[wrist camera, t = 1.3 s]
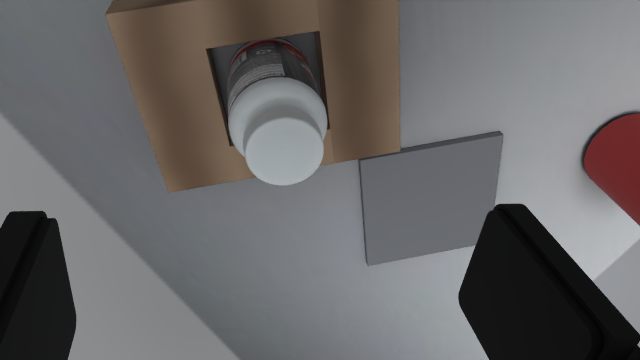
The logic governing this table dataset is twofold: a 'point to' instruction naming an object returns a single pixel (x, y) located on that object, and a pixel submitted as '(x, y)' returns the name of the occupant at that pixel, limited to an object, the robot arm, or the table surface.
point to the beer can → (617, 162)
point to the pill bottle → (275, 111)
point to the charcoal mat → (428, 196)
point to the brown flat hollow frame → (245, 26)
